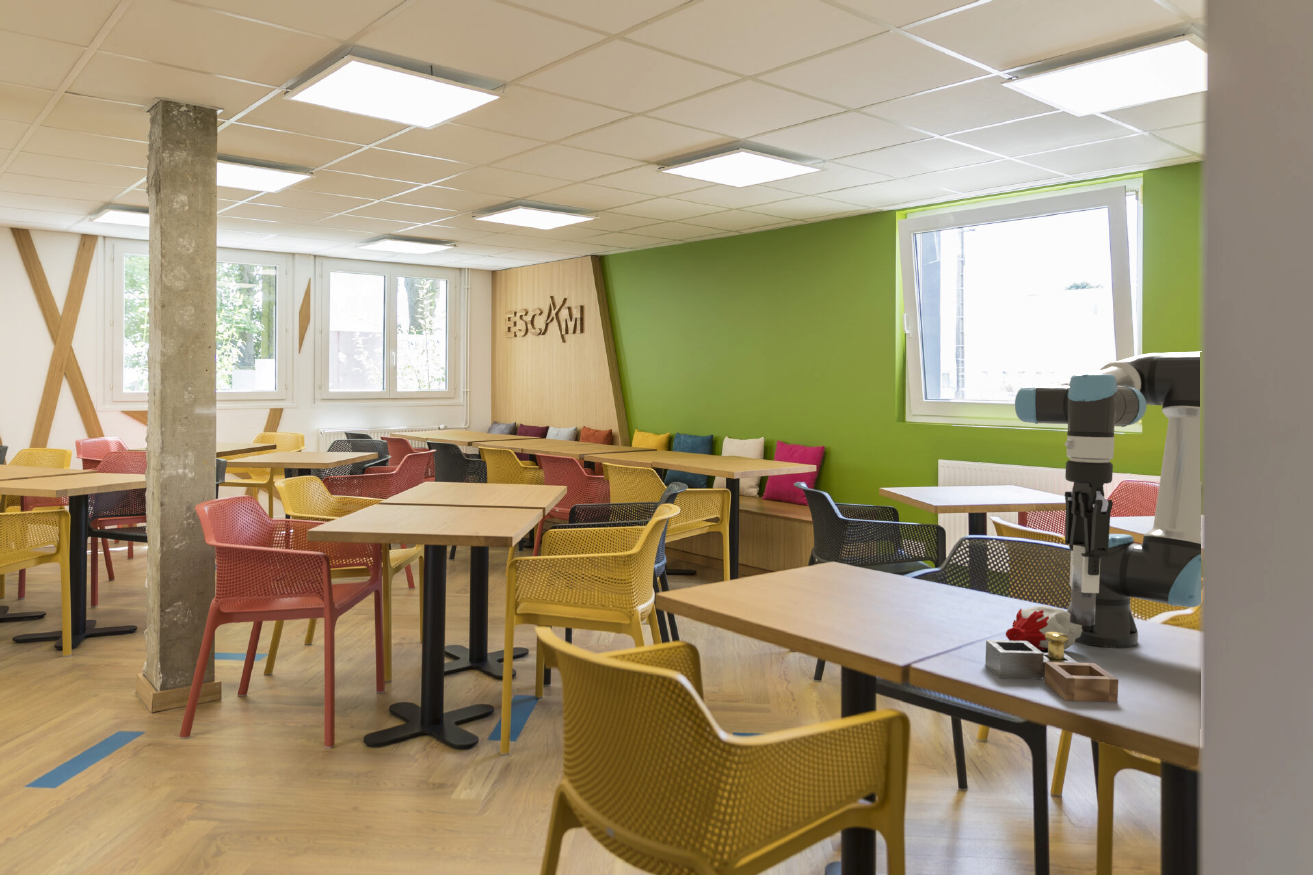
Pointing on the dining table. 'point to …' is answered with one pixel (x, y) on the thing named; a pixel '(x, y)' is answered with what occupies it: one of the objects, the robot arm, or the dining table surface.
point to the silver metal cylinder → (1080, 601)
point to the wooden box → (1081, 681)
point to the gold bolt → (1056, 645)
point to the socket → (1017, 659)
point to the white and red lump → (1042, 626)
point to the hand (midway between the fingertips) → (1083, 589)
